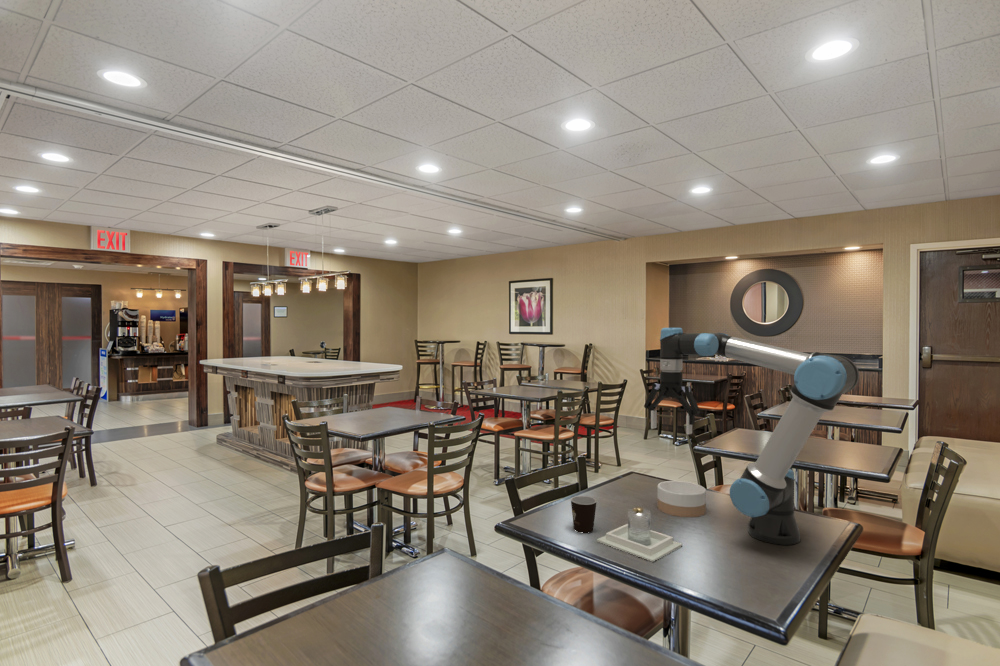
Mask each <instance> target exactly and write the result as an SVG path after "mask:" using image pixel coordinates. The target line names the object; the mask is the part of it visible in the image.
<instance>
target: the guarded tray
mask: <svg viewBox="0 0 1000 666" xmlns="http://www.w3.org/2000/svg"><path fill="white" fill-rule="evenodd" d="M596 542H597V543H599V542H600V543H599V544H601V543H603V544H602V545H604V544H605V545H604V546H607V545H608V546H607V547H609V546H611V547H610V548H612V547H613V549H614V548H616V549H615V550H617V549H619V550H618V551H620V550H622V551H625V552H628V553H630V554H633V555H636V556H638V557H642V558H644V559H647V560H650V561H655V560H657V559H659V558H661V557H662V556H664V555H666V554H668V553H670V552H671V553H673V552H674V550H675V551H677V550H678V548H679V549H681V548H682V547H683V543H681V542H677V541H675V540H674V537H673V536H670V535H668V534H665V533H660V532H658V531H655V530H652V529H651V544H650V545H648V546H645V545H642V544H639V543H636V542H633V541H630V540H628V523H626V524H624V525H622V526H619V527H617V528H615V529H611V530H610V531H607V532H606V533H605V535H603V536H601V537H599V538H597V539H596ZM681 546H682V547H681ZM676 549H677V550H676ZM622 551H621V552H622ZM672 551H673V552H672ZM625 552H624V553H625ZM628 553H627V554H628ZM671 553H670V554H671ZM630 554H629V555H630ZM633 555H632V556H633ZM668 555H669V554H668ZM636 556H635V557H636ZM666 556H667V555H666ZM638 557H637V558H638ZM664 557H665V556H664ZM644 559H643V560H644ZM661 559H662V558H661ZM659 560H660V559H659ZM657 561H658V560H657Z"/></svg>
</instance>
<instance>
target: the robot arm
mask: <svg viewBox="0 0 1000 666" xmlns="http://www.w3.org/2000/svg"><path fill="white" fill-rule="evenodd" d="M683 331H684V330H683V328H682V327H662V328H661V329H660V337H659V338H660V339H659V343H660V345H659V346H660V357H659V359H660V360H659V361H660V362H659V364H660V365H659V366H660V367H659V368H660V373H659V374H660V375H659V382H660V383H658V382H657V383H655V382H654V383H652V384H651V391H650V392H649V394H648V397H647V398H646V401H645V403H644V405H643V407H644V408H645V409H648V419H649V420H650V429H651V430H653V429H657V427H658V426H657V425H658V420H657V419H658V418H657V416H658V412H657V407H658V406H659V404H661V402H662V401H663V400H664V398H672V399H676V400H677V401H678V402H679V403H680V405H681V407H683V409H684V410H685V411H686V413H687V415H686V418H685V419H686V423H685V424H686V425H685V427H686V428H685V429H686V435H688V436H689V435H692V434H693V425H695V416H696V415H699V414H701V410H700V407H699V406H698V405H699V404H697V401H696V399H695V396H694V394H693V391H692V387H691V385H687V386H683V372H682V371H683V365H684V364H683V358H684V357H683V356H685V355H686V356H697V357H698V356H701V357H708V356H709V357H713V356H719V357H723V358H728V359H733V360H735V361H740V362H744V363H748V364H751V365H755V366H758V367H763V368H766V369H769V370H775V371H778V372H782V373H785V374H789V375H793V380H794V383H793V385H792V387H791V388H790V394H791V396H792V398H791V400H790V402H789V403H788V405H787V407H786V409H785V410H784V412H783V414H782V416H781V417H780V419H779V421H778V422H777V424H776V426H775V428H774V429H773V431H772V432H771V435H770V436H769V438H768V440H767V442H766V443H765V446H764V447H763V449H762V450H761V452H760V454H759V456H758V458H757V460H756V461H755V462H750V463H747V466H746V468H745V469H744V471H743V473H742V475H741V476H740V477H739V478H737V479H735V480H734V481H733V482H732V483H731V485H730V487H729V497H730V500H731V503H732V505H733V506H734V507H735V508H736V509H737V511H738V512H739V513H741V514H743V515H744V516H747V517H750V519H749V521H748V523H747V532H748V534H749V535H750V536H751V537H753V538H754V539H756V540H758V541H762V542H765V543H769V544H774V545H785V546H790V545H796V544H798V543H800V541H801V533H800V529H799V525H798V523H797V520H796V517H795V482H796V479H795V471H794V470H793V469H791V468H792V466H793V465H794V463H795V461H796V460H797V457H798V456H799V455H800V452H801V451H802V449H803V447H804V446H805V444H806V443H807V441H808V439H809V437H810V435H811V434H812V433H813V431H814V429H815V428H816V426H817V424H818V423H819V421H820V419H821V417H822V416H823V415H824V413H827V412H832V411H833V410H834V409H835V407H836V405H837V403H838V402H839V400H840V399H841V397H842V396H843V395H845V394H847V393H849V392H851V391H852V390H853V389H855V388H856V387H857V385H858V383H859V380H860V372H859V369H858V366H857V365H856V363H855V362H853V361H852V360H851V359H849V358H848V357H846V356H843V355H838V354H828V353H822V352H817V351H814V352H812V353H807V352H802V351H798V350H793V349H789V348H784V347H780V346H776V345H771V344H767V343H763V342H758V341H754V340H749V339H745V338H740V337H737V336H731V335H729V334H727V333H723V332H714V333H713V332H712V333H709V332H706V333H705V332H703V333H702V332H700V333H693V332H692V333H690V332H689V333H684V332H683ZM659 390H660V392H659V393H658V391H659ZM682 392H683V393H685V395H684V394H683V393H682ZM657 394H658V395H657ZM656 395H657V397H656ZM685 396H686V397H685ZM655 397H656V398H655Z"/></svg>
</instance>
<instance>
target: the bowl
mask: <svg viewBox="0 0 1000 666" xmlns="http://www.w3.org/2000/svg"><path fill="white" fill-rule="evenodd" d="M657 508H658V510H659V511H660V512H662V513H664V514H666V515H670V516H674V517H681V518H699V517H702V516H704V515H705V514H706V511H707V510H706V509H707V489H706V488H705V487H704V486H702V485H701V484H698V483H694V482H690V481H684V480H667V481H661V482H659V483H658V484H657Z"/></svg>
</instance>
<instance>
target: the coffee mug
mask: <svg viewBox="0 0 1000 666" xmlns="http://www.w3.org/2000/svg"><path fill="white" fill-rule="evenodd" d="M570 506H571V513H572V522H573V530H574V529H575V530H576V531H578V532H583V533H582V534H589V533H588V532H591V533H593V532H594V526H595V518H596V510H597V499H596V498H594V497H591V496H587V495H578V496H573V497H571V498H570ZM575 530H574V531H575ZM576 531H575V532H576ZM592 531H593V532H592ZM578 532H577V533H578Z"/></svg>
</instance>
